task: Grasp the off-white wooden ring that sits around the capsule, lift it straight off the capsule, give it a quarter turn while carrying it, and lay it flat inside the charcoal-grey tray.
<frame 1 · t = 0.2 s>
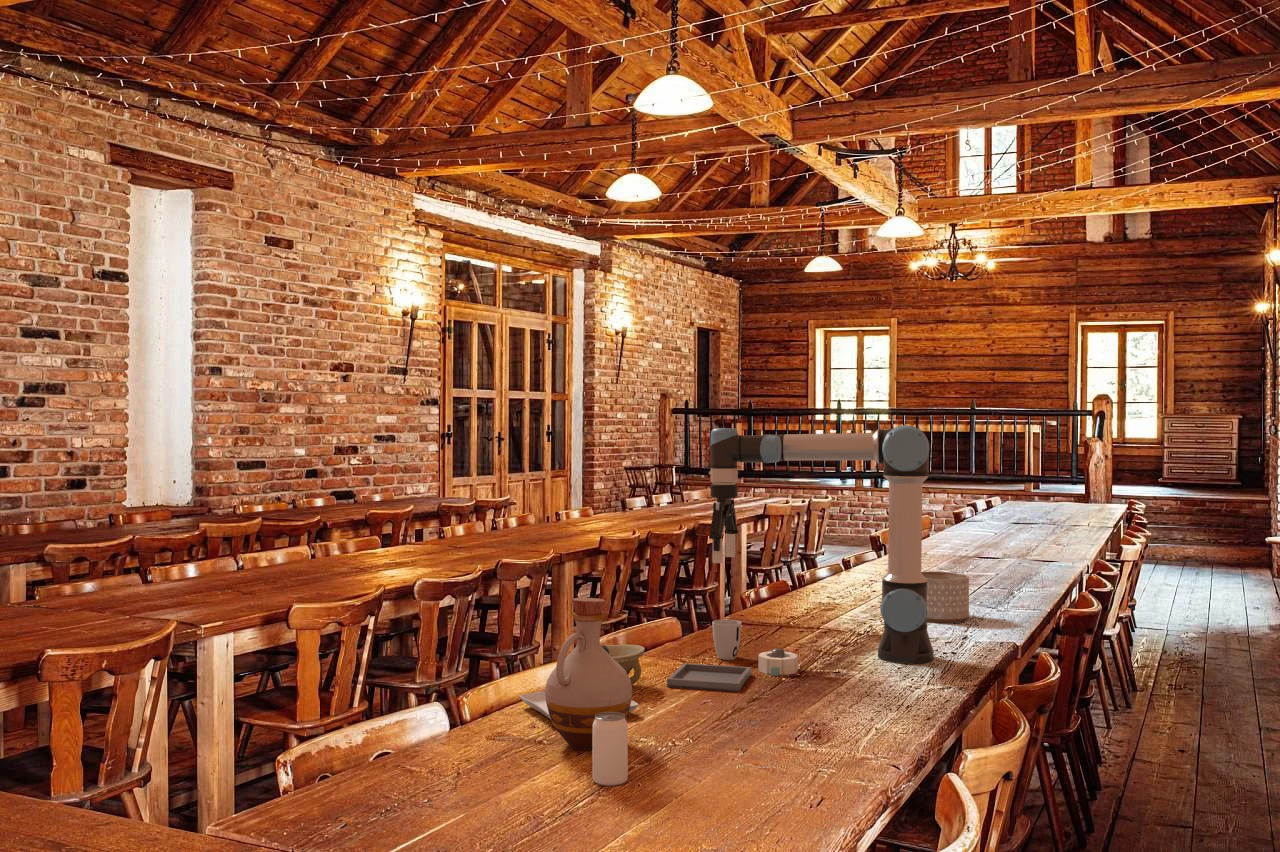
hand: (724, 560, 299), 27 cm above the table, fingers open, 13 cm apart
ring: (778, 670, 285), on the table
planter: (939, 619, 359), on the table
jug: (586, 746, 220), on the table
bowl: (609, 687, 268), on the table
capsule: (778, 670, 285), on the table
can: (610, 781, 198), on the table
salad plate: (578, 714, 245), on the table
cup: (726, 658, 300), on the table
tray: (710, 680, 274), on the table
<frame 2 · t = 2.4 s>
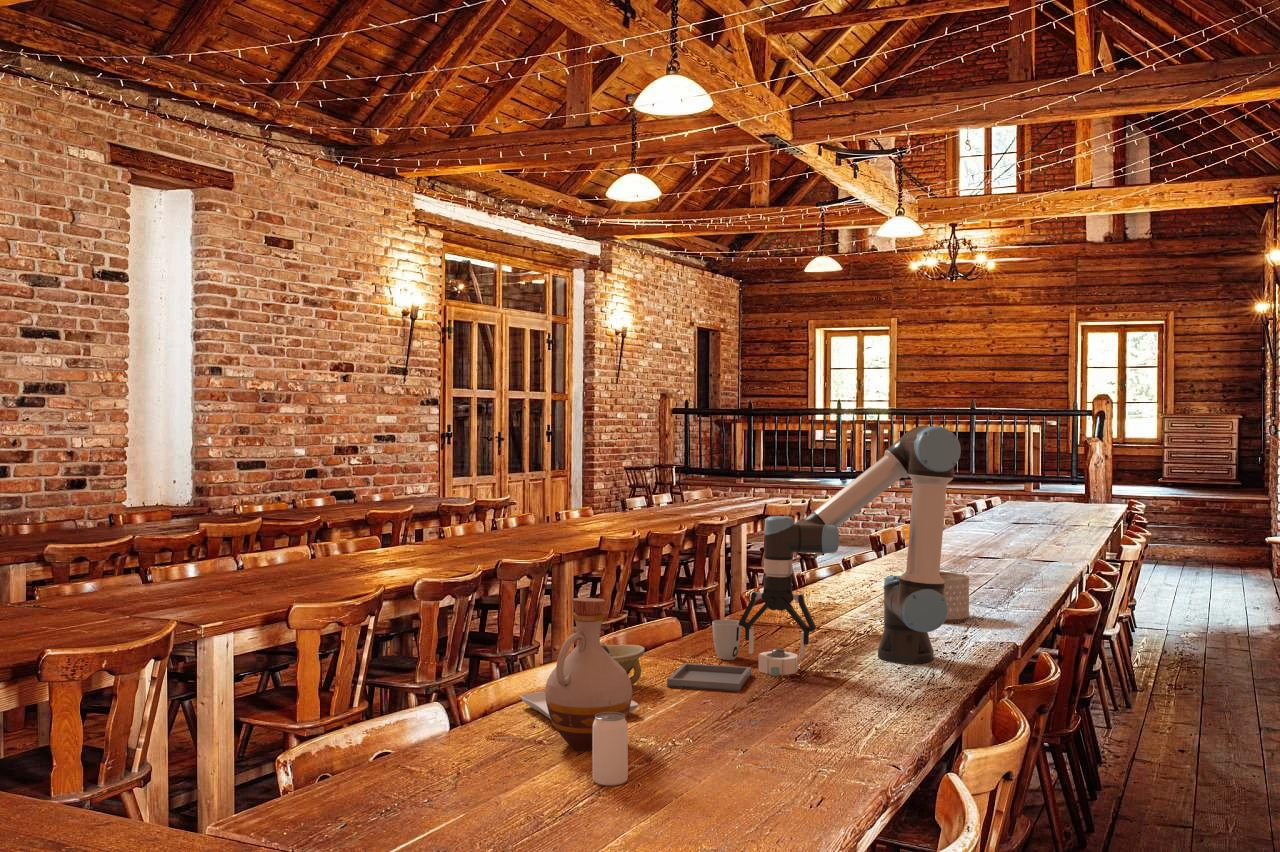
hand: (776, 655, 285), 4 cm above the table, fingers open, 13 cm apart
nothing on the table moved.
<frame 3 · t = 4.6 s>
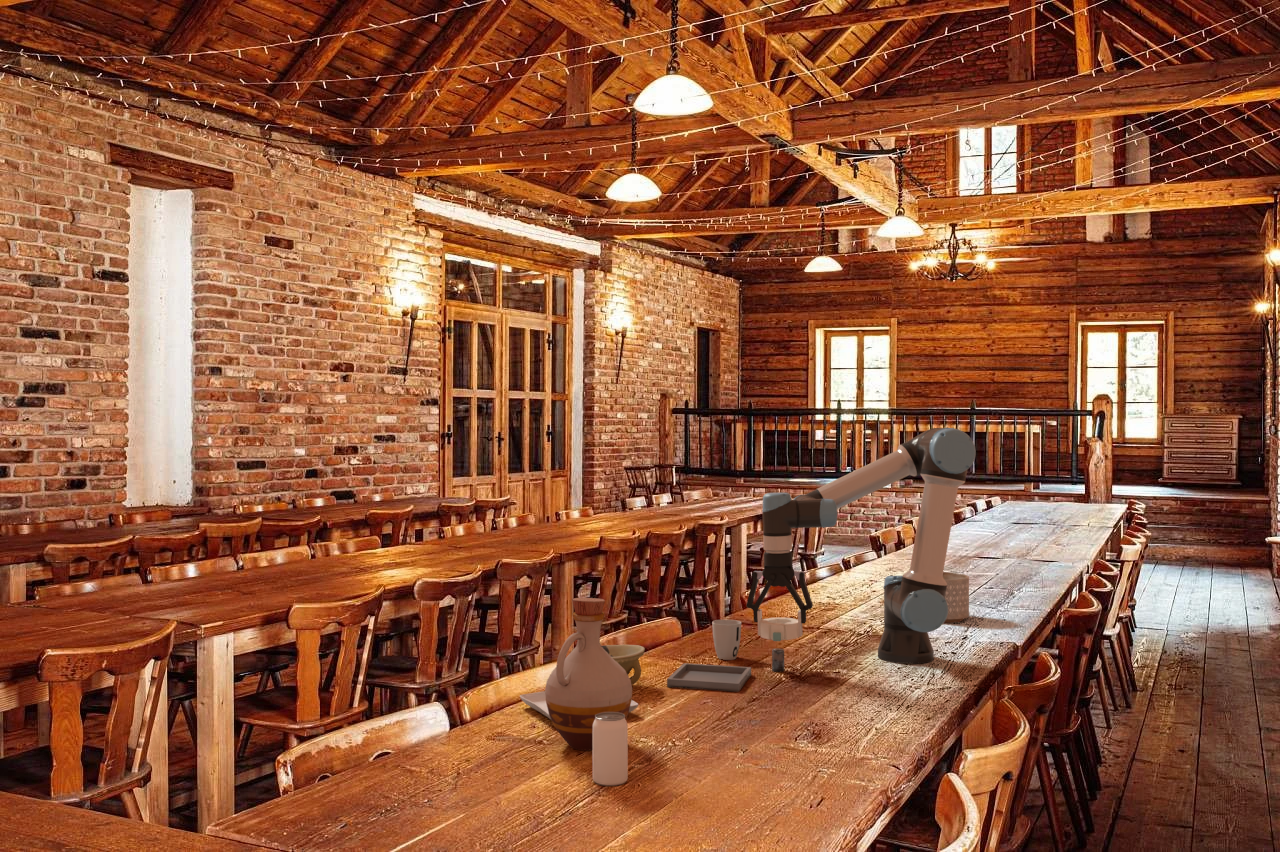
hand: (780, 635, 285), 9 cm above the table, fingers closed on ring, 10 cm apart
ring: (780, 636, 285), point 9 cm above the table, touching gripper
everything else where it was.
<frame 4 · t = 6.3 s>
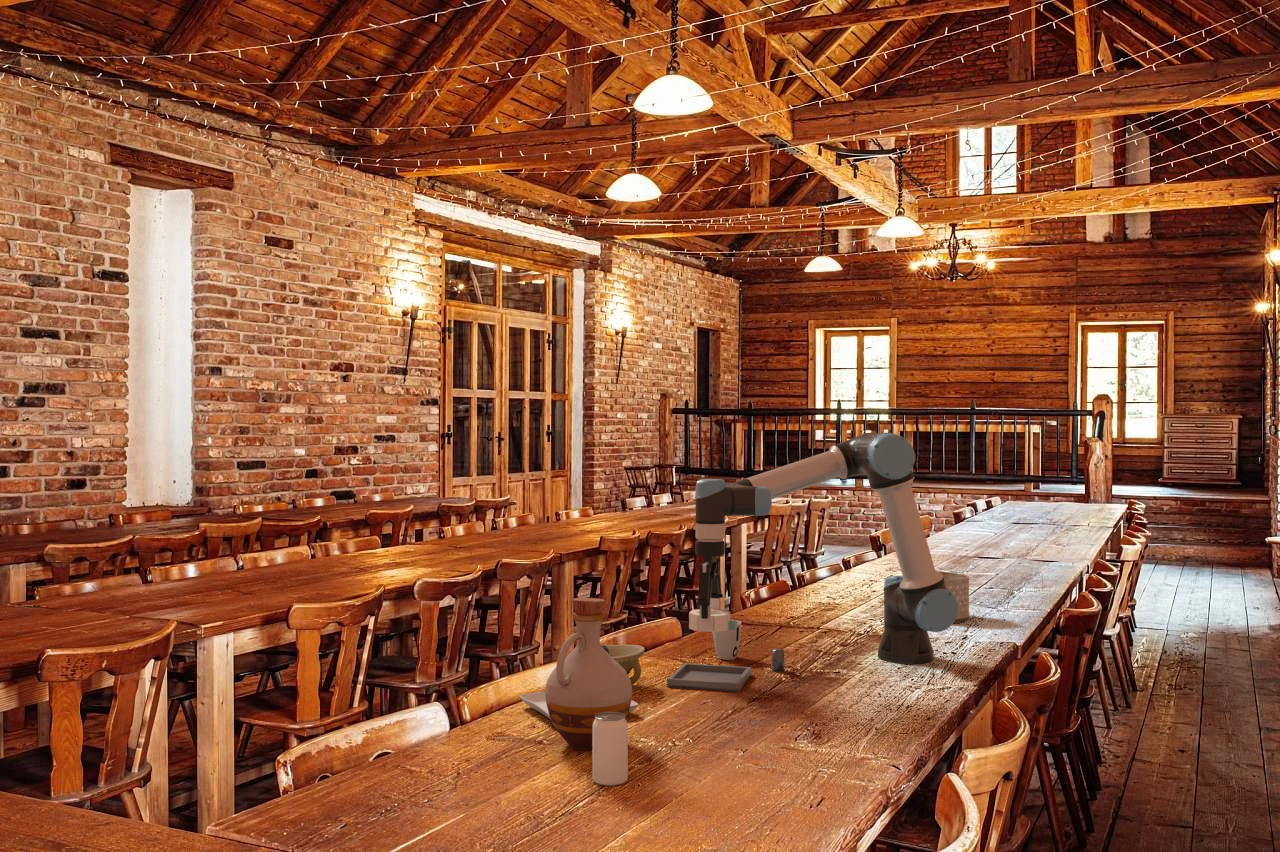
hand: (709, 627, 274), 14 cm above the table, fingers closed on ring, 10 cm apart
ring: (709, 628, 274), point 13 cm above the table, touching gripper
everything else where it was.
when the fingers open (2 cm above the table, at t = 8.4 s): ring drops 2 cm, resting on tray.
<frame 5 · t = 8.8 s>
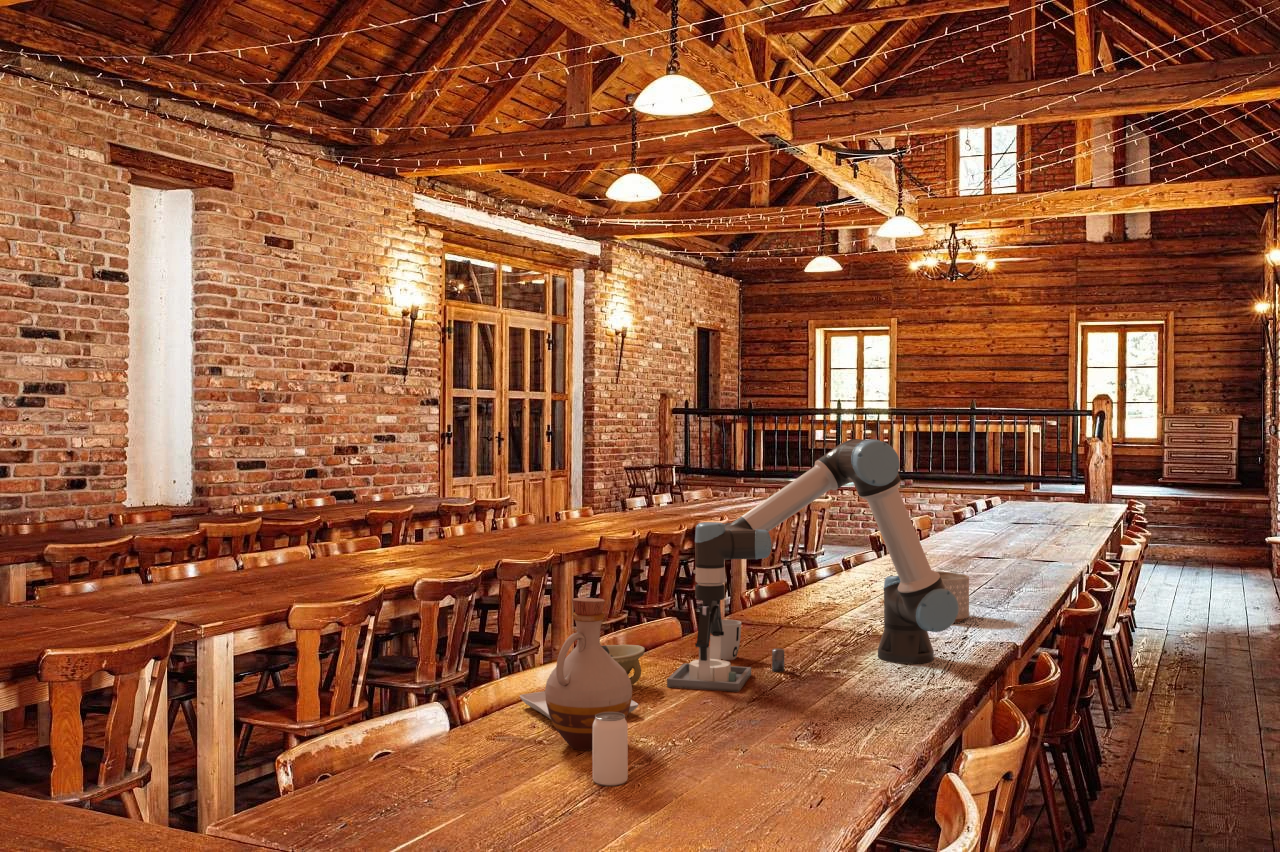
hand: (710, 667, 274), 3 cm above the table, fingers open, 13 cm apart
ring: (710, 678, 274), resting on tray
everything else where it was.
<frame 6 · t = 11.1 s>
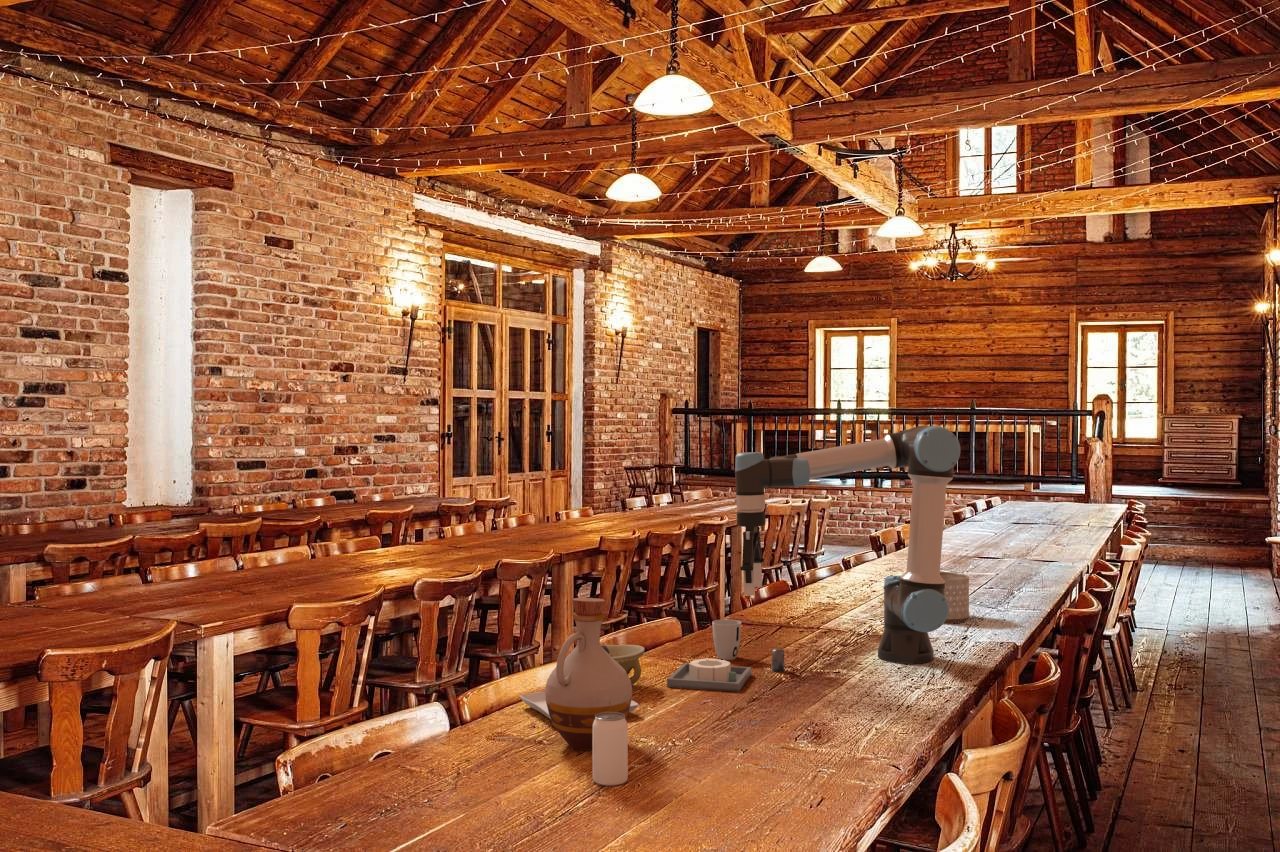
hand: (753, 591, 284), 21 cm above the table, fingers open, 13 cm apart
nothing on the table moved.
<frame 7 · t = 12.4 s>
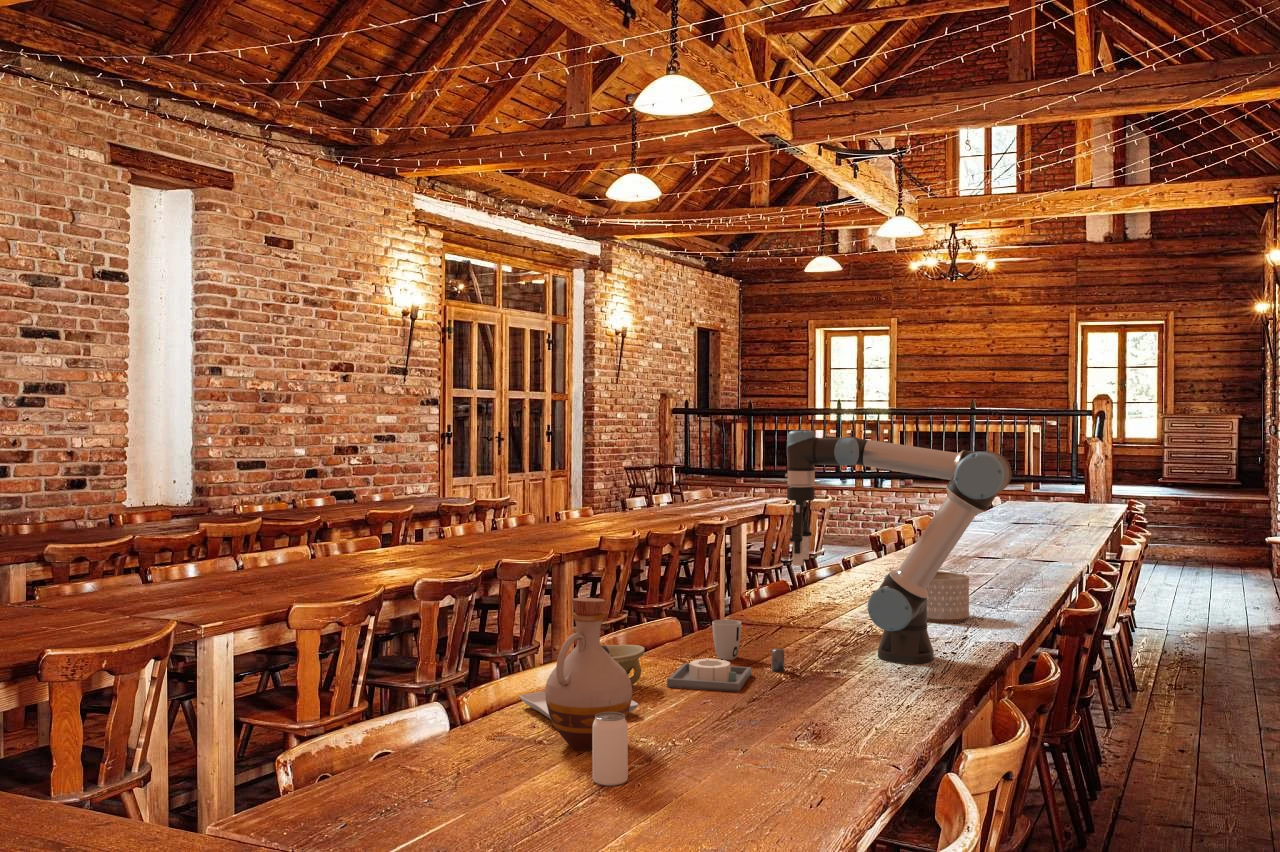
hand: (800, 562, 299), 27 cm above the table, fingers open, 13 cm apart
nothing on the table moved.
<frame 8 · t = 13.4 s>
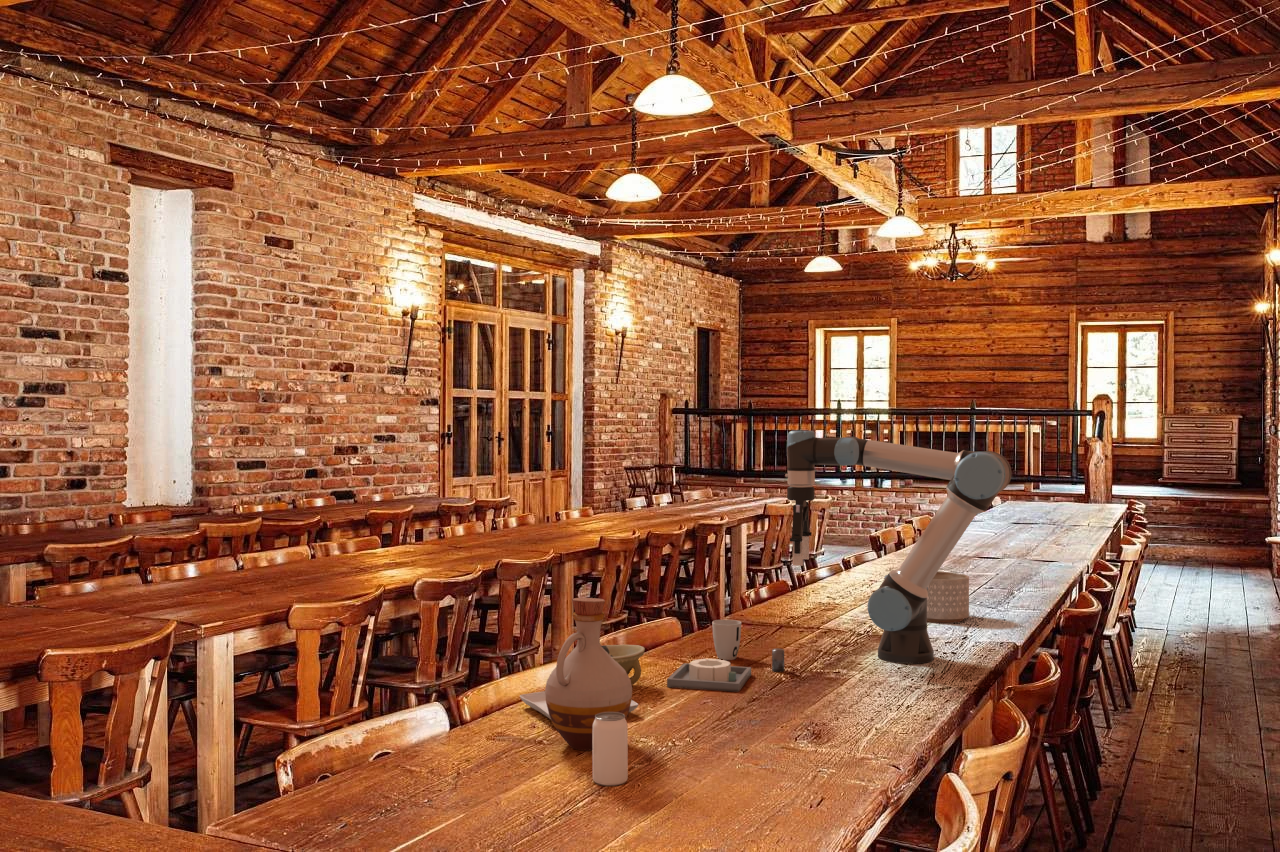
hand: (800, 562, 299), 27 cm above the table, fingers open, 13 cm apart
nothing on the table moved.
at the end: ring inside the target area on the tray (0.0 cm from its centre), point 0.5 cm above the tray's base; ring tilted 0°; the gripper is holding nothing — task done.
